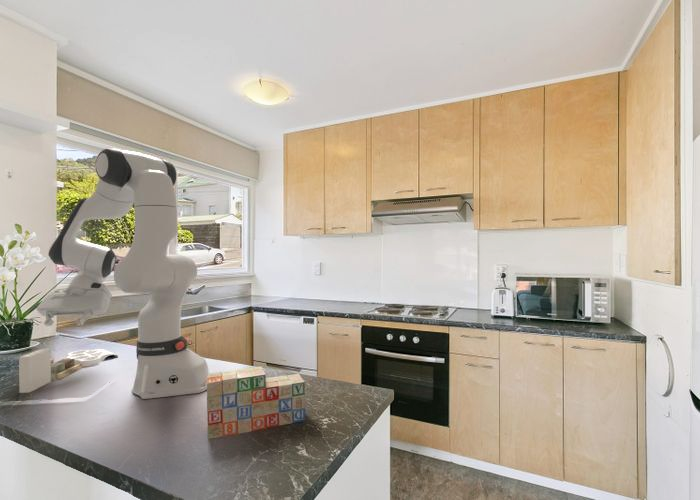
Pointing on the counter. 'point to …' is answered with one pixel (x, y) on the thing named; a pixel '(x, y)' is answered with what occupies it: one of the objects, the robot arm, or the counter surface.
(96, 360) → the knuckle duster
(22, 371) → the cream board
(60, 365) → the offcuts
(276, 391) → the stack of blocks
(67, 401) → the counter surface
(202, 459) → the counter surface
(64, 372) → the oak rack
